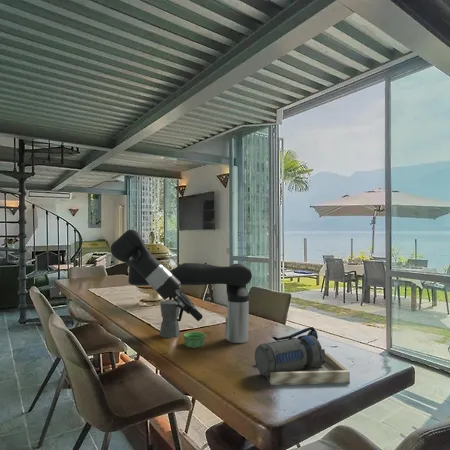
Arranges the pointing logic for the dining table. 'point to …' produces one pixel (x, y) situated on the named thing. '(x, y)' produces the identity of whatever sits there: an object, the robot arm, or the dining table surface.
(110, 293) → the dining table surface
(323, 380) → the cream flat rectangular tray
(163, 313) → the coffeepot
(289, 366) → the beverage bottle
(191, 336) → the ramekin
